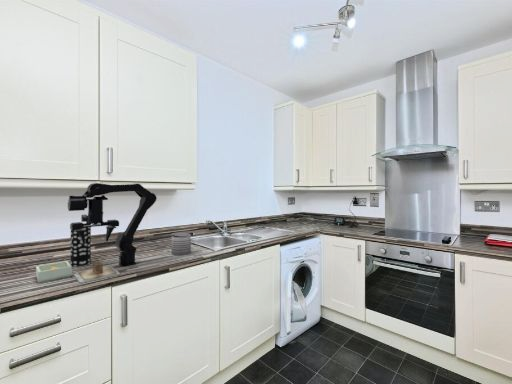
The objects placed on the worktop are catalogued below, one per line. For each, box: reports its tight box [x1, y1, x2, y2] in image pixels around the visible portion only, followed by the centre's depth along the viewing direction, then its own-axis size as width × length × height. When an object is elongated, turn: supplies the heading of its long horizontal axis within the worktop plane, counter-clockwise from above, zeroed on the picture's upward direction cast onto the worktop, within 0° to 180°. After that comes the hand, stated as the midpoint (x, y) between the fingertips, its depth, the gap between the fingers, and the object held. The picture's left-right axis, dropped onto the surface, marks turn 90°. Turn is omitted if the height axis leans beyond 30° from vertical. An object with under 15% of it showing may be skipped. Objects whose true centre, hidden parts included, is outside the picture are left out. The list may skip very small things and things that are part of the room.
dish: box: [35, 260, 73, 284], centre depth 107 cm, size 11×11×4 cm
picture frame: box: [73, 266, 121, 284], centre depth 109 cm, size 15×13×1 cm
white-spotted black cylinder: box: [70, 227, 92, 267], centre depth 125 cm, size 8×8×20 cm
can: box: [170, 232, 192, 257], centre depth 147 cm, size 11×11×12 cm
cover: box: [78, 260, 117, 281], centre depth 109 cm, size 12×12×5 cm
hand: (95, 242), depth 115 cm, fingers open, 9 cm apart
